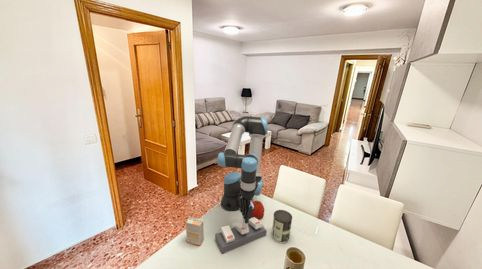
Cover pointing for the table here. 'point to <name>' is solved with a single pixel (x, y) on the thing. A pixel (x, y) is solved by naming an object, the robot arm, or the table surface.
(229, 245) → the rocker switch panel
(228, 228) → the rocker
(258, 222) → the block
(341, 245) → the table surface
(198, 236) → the supplement box
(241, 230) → the rocker
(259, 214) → the apple
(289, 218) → the coffee can
